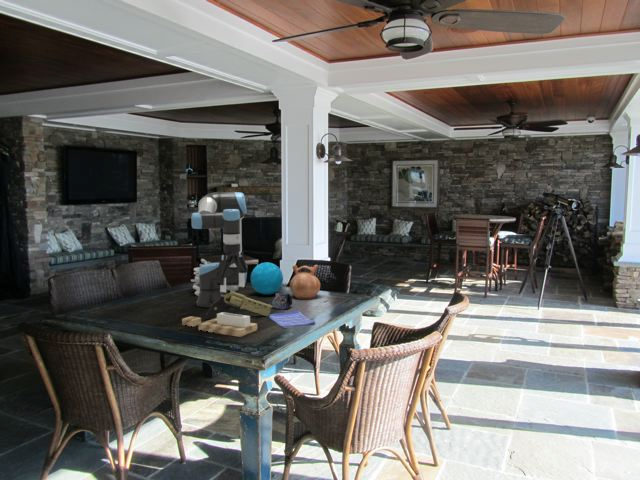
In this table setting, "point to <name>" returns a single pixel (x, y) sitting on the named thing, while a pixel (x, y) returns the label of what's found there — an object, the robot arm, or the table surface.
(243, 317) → the strip
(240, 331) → the board
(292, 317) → the dish towel
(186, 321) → the stand
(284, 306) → the rock
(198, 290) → the abstract sculpture
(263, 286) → the decorative sphere
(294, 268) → the jug
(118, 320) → the table surface
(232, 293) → the handgun
